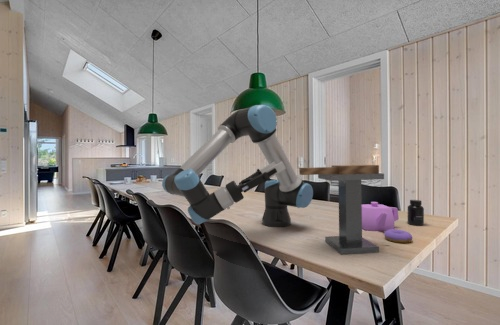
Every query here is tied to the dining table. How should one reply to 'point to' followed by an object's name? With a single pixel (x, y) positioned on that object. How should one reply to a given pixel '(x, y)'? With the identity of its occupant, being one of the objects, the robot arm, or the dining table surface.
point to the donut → (398, 236)
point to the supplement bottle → (415, 213)
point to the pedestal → (350, 214)
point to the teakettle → (378, 217)
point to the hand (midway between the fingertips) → (279, 164)
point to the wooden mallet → (341, 170)
